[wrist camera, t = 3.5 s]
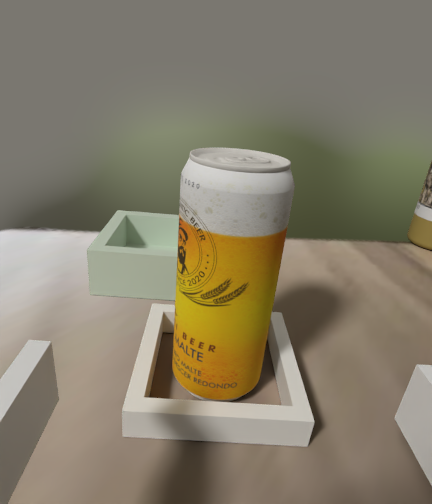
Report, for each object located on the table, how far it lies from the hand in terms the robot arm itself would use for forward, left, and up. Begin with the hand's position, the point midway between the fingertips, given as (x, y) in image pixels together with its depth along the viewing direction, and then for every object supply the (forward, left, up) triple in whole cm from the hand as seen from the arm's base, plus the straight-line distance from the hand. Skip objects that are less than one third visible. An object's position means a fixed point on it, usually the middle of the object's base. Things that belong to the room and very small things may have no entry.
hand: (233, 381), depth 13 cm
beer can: (0, -9, -9) cm, 13 cm away
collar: (0, -9, -8) cm, 12 cm away
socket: (+6, -24, -8) cm, 26 cm away
